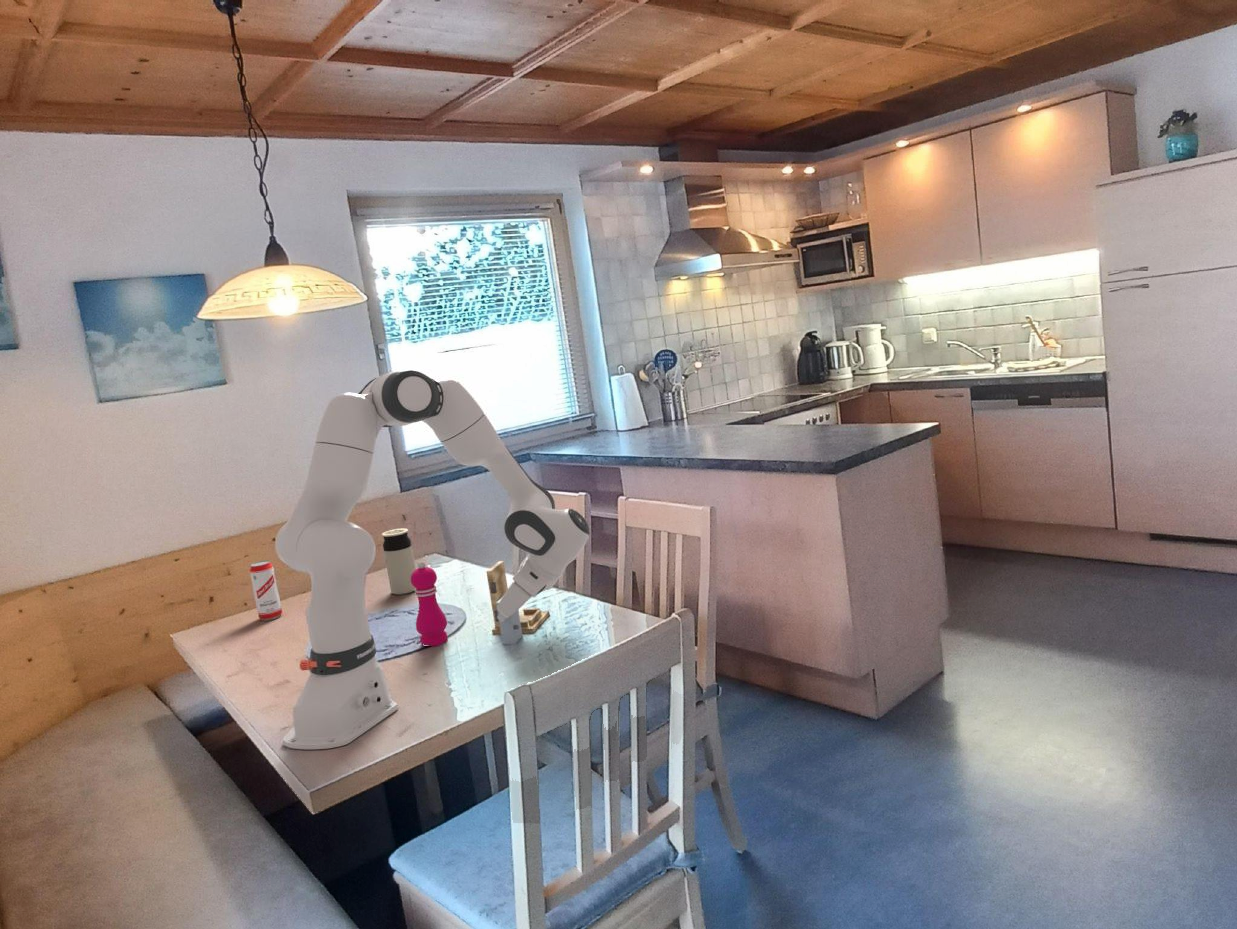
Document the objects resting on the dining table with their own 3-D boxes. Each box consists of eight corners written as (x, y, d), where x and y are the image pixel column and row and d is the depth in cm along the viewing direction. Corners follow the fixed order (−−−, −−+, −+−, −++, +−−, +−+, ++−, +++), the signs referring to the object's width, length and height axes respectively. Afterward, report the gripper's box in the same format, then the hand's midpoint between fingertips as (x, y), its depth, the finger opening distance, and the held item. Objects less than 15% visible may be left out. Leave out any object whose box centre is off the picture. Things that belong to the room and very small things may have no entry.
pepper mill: (442, 647, 194) (428, 564, 190) (414, 648, 195) (399, 566, 192) (454, 635, 200) (441, 555, 197) (426, 636, 202) (413, 557, 199)
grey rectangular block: (518, 643, 190) (512, 602, 188) (502, 644, 191) (496, 602, 189) (526, 635, 194) (520, 594, 193) (510, 635, 195) (504, 595, 194)
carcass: (533, 632, 195) (524, 571, 193) (492, 634, 198) (483, 573, 196) (549, 614, 207) (541, 556, 205) (510, 616, 210) (502, 558, 207)
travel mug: (414, 593, 240) (404, 533, 238) (387, 596, 241) (377, 536, 238) (422, 585, 248) (412, 526, 245) (396, 587, 249) (385, 529, 246)
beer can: (284, 616, 234) (274, 562, 231) (261, 623, 231) (250, 567, 228) (280, 612, 239) (270, 558, 237) (257, 618, 236) (246, 564, 233)
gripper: (544, 549, 198) (511, 590, 202) (513, 575, 178) (478, 620, 182) (564, 566, 197) (531, 606, 201) (535, 594, 178) (499, 639, 182)
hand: (505, 613), depth 192 cm, fingers open, 5 cm apart
